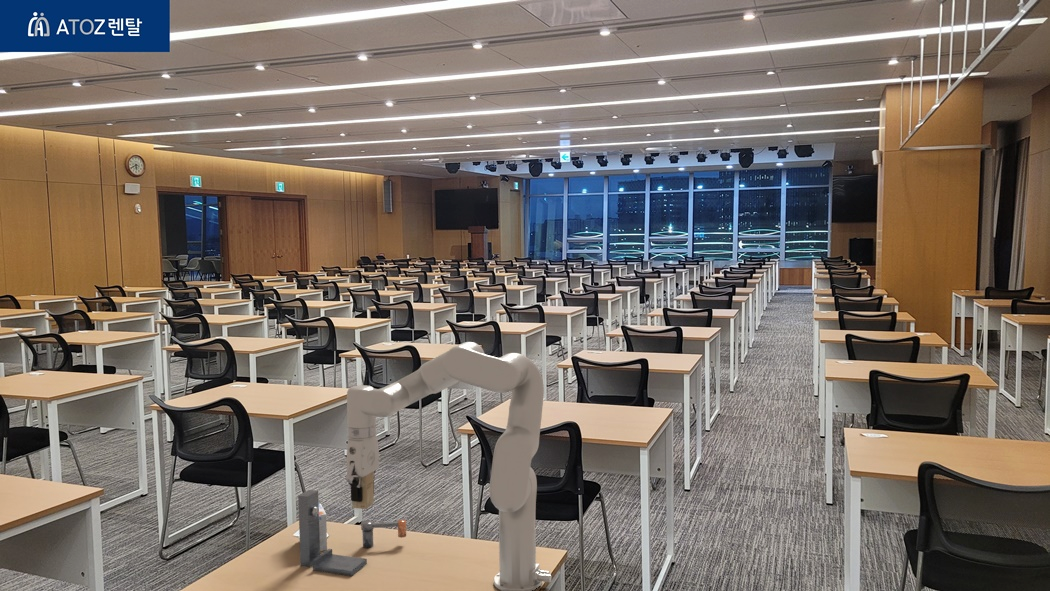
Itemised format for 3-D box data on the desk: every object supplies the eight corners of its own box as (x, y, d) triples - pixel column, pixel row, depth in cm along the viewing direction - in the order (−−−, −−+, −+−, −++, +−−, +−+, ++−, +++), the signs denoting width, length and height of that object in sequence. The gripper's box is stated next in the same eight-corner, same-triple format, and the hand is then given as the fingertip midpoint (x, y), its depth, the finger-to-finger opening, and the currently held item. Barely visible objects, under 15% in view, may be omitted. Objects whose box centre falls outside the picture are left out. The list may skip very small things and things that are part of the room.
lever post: (375, 544, 217) (374, 528, 217) (370, 548, 214) (369, 532, 214) (366, 543, 218) (365, 527, 218) (360, 547, 215) (360, 531, 215)
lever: (361, 540, 214) (360, 525, 214) (362, 536, 218) (361, 520, 217) (406, 538, 216) (405, 522, 215) (406, 533, 219) (406, 518, 219)
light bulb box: (299, 541, 221) (297, 506, 220) (322, 537, 224) (320, 502, 223) (304, 554, 211) (303, 517, 210) (328, 550, 214) (327, 514, 213)
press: (366, 564, 204) (364, 493, 203) (351, 576, 196) (349, 503, 195) (314, 556, 209) (312, 488, 208) (297, 568, 202) (294, 497, 200)
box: (366, 509, 197) (365, 469, 196) (351, 508, 198) (350, 468, 197) (374, 502, 202) (373, 463, 201) (359, 501, 203) (359, 462, 202)
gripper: (357, 440, 189) (358, 509, 190) (389, 425, 205) (390, 489, 206) (331, 438, 191) (333, 506, 192) (365, 423, 208) (366, 486, 209)
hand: (362, 496), depth 199 cm, fingers closed on box, 5 cm apart
